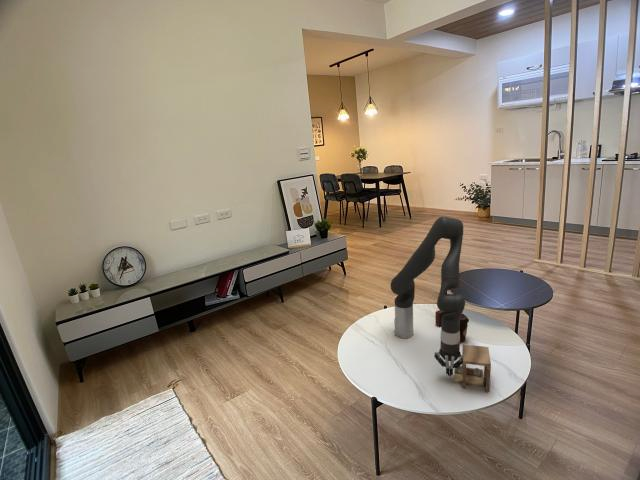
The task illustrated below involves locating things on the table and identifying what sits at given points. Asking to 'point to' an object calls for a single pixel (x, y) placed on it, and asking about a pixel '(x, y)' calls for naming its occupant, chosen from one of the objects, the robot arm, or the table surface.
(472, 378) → the tray
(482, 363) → the wooden stool
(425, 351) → the table surface
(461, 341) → the coffee cup
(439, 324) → the radio
